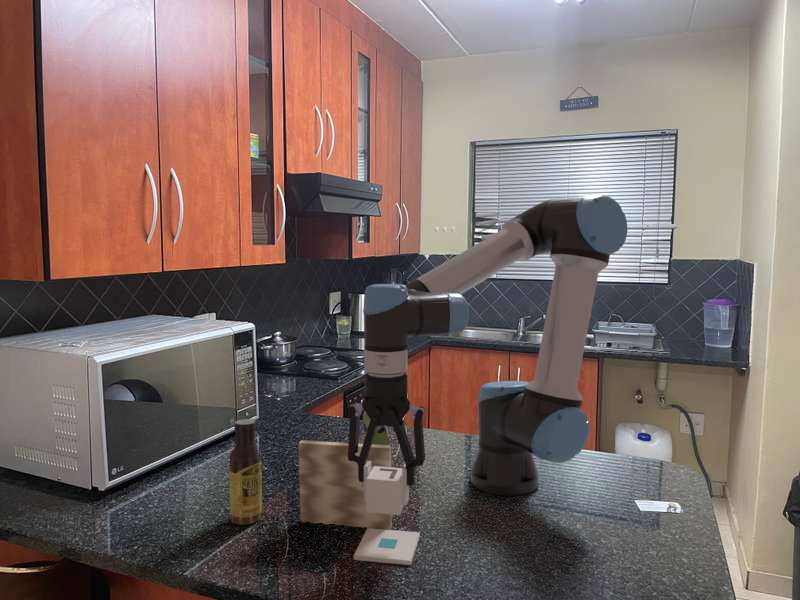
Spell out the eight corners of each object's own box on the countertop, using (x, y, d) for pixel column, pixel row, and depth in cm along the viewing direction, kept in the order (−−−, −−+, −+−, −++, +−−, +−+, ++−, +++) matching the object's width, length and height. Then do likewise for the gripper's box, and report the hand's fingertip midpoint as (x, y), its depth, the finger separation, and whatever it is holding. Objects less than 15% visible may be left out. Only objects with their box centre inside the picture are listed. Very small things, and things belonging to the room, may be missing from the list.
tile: (419, 536, 111) (419, 531, 111) (410, 565, 101) (410, 560, 101) (367, 532, 113) (367, 527, 113) (353, 559, 103) (353, 554, 103)
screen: (396, 514, 120) (395, 437, 118) (390, 529, 114) (389, 448, 112) (311, 508, 123) (309, 432, 122) (300, 522, 117) (298, 443, 116)
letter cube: (406, 500, 109) (406, 468, 108) (400, 515, 103) (400, 481, 102) (373, 497, 110) (373, 465, 109) (365, 511, 104) (365, 478, 103)
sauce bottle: (245, 530, 114) (242, 429, 112) (223, 522, 118) (219, 423, 116) (270, 516, 120) (267, 420, 118) (247, 509, 123) (244, 415, 121)
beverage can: (394, 450, 157) (394, 405, 156) (378, 459, 151) (378, 412, 150) (375, 446, 160) (374, 402, 159) (358, 454, 154) (357, 409, 153)
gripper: (326, 375, 102) (328, 505, 104) (437, 379, 99) (437, 514, 101) (339, 366, 109) (340, 487, 112) (443, 370, 106) (442, 495, 108)
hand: (386, 500), depth 106 cm, fingers closed on letter cube, 6 cm apart
